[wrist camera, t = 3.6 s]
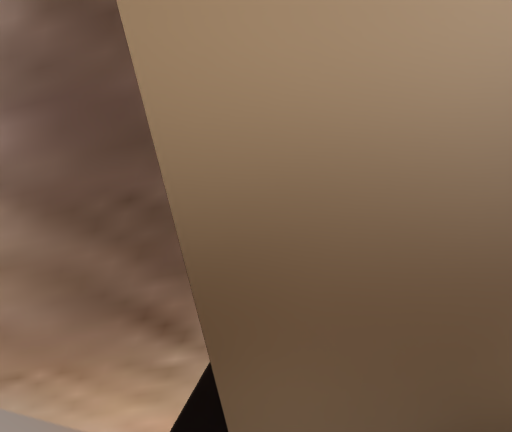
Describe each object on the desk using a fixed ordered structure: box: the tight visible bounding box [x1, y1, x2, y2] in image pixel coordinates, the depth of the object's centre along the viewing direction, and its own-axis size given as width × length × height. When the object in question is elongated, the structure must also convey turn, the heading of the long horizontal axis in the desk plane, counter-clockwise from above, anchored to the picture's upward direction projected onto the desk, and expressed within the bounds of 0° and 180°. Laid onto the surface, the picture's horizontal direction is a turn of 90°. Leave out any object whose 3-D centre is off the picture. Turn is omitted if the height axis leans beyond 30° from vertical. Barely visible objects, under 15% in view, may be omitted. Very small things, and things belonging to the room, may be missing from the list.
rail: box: [116, 0, 512, 432], centre depth 6 cm, size 14×4×4 cm, turn 9°
